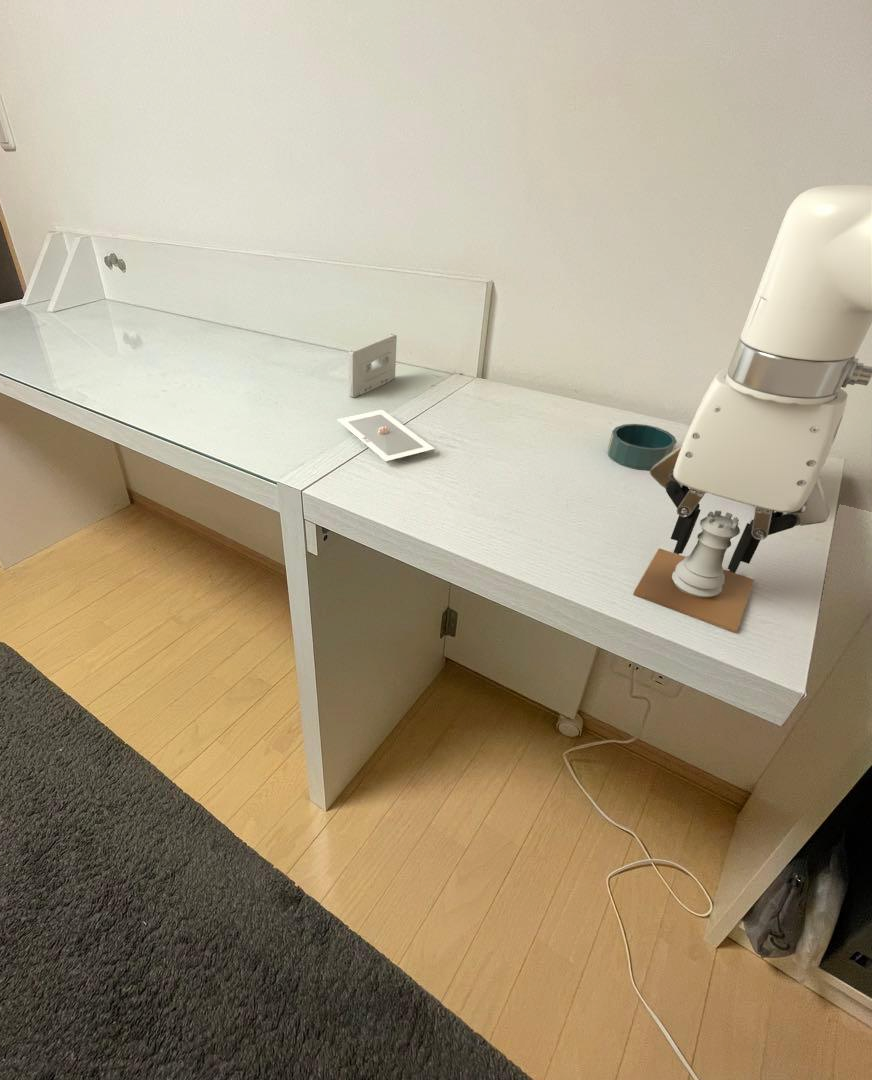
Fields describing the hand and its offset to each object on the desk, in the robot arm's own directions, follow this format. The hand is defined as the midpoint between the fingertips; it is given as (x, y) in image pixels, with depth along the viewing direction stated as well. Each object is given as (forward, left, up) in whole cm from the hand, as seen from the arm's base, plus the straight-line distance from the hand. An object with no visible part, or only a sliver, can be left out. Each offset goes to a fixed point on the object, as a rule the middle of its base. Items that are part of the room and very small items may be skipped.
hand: (707, 554), depth 58 cm
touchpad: (+43, -9, -4) cm, 45 cm away
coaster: (0, 0, -4) cm, 4 cm away
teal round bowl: (+12, -25, -4) cm, 29 cm away
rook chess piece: (0, 0, -4) cm, 4 cm away
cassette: (+56, -25, -4) cm, 62 cm away
